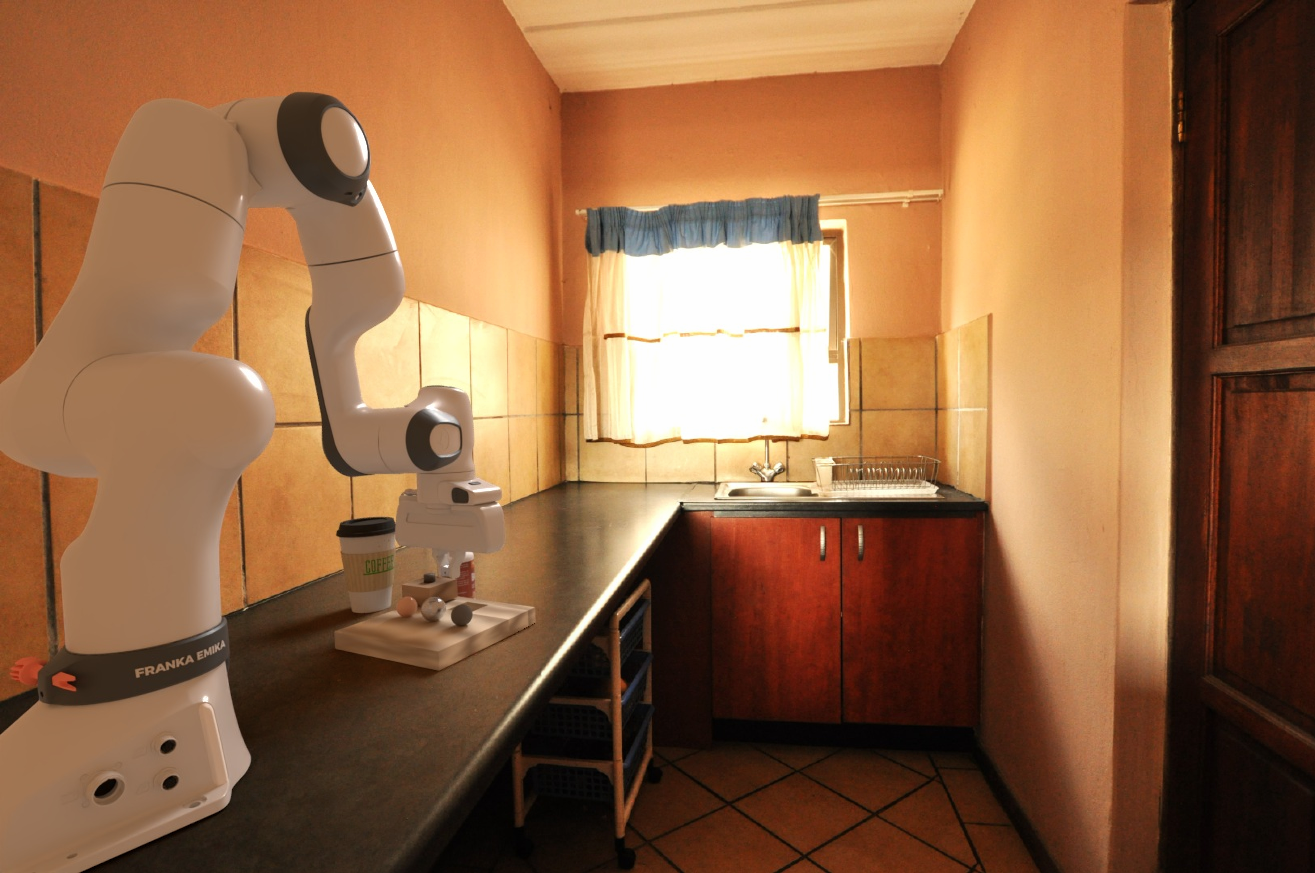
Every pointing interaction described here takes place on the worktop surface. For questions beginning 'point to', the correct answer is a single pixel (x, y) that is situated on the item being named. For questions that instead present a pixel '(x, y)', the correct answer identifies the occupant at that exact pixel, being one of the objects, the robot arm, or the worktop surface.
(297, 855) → the worktop surface
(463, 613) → the black rubber ball
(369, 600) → the coffee cup
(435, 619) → the steel ball
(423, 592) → the cover
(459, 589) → the pill bottle
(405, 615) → the terracotta ball
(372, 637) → the board
